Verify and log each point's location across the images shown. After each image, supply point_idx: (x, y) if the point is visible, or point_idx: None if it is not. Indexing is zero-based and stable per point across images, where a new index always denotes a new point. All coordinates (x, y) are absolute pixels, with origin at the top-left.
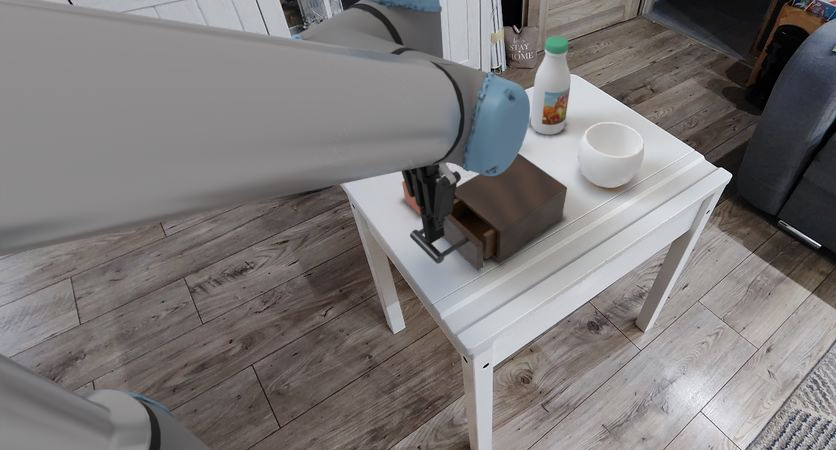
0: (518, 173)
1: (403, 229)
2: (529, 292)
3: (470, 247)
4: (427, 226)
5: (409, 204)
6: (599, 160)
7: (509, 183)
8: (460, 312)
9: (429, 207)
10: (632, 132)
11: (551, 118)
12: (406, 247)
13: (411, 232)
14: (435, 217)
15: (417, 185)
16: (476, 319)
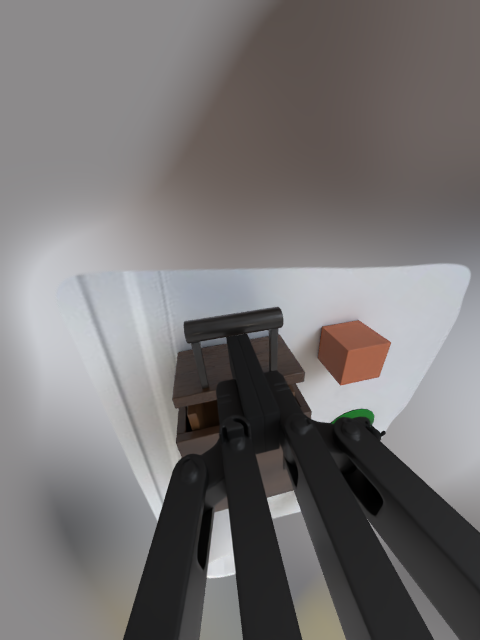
0: (267, 482)
1: (320, 294)
2: (113, 387)
3: (193, 379)
4: (238, 377)
5: (349, 322)
6: (221, 542)
7: (260, 472)
8: (120, 295)
9: (231, 495)
10: (234, 567)
11: None
12: (288, 282)
13: (282, 316)
14: (185, 477)
15: (353, 595)
16: (94, 309)
